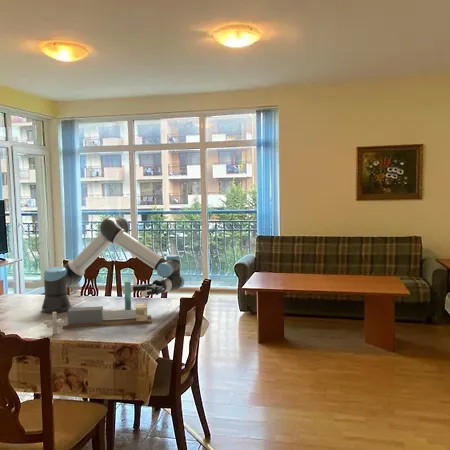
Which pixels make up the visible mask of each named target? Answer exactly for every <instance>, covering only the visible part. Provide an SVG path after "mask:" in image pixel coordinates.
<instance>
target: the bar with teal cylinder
mask: <svg viewBox="0 0 450 450" xmlns="http://www.w3.org/2000/svg"><path fill="white" fill-rule="evenodd" d="M131 286H132V284H131V281H124V288H125V294H124V308H123V307H122V308H121V307H120V308H103V309H102V319H117V318H136V307H132V292H131Z"/></svg>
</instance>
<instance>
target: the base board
mask: <svg viewBox="0 0 450 450" xmlns="http://www.w3.org/2000/svg"><path fill="white" fill-rule="evenodd" d="M65 322H66V324H65V325H62V329H76V328H79V327H80V328H93V327H94V328H95V327H113V326H115V327H116V326H130V325H131V326H132V325H133V326H134V325H135V326H136V325H151V324H152V314H147V321H136V318H117V319H103V321H102V322H99V323H80V324H68V318H67V319H66V320H65ZM80 328H79V329H80Z"/></svg>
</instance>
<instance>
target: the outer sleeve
mask: <svg viewBox="0 0 450 450" xmlns="http://www.w3.org/2000/svg"><path fill="white" fill-rule="evenodd" d="M102 309H104V306H84V307H83V306H80V307H71V308H70V309H69V310H68V311H67V319H68V324H80V323H99V322H102V321H103V319H102Z"/></svg>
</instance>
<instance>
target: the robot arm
mask: <svg viewBox="0 0 450 450" xmlns="http://www.w3.org/2000/svg"><path fill="white" fill-rule="evenodd" d="M129 232H130V223H129V221H128V220H127V219H126V218H125V217H123V216H114V217H106V218H104V219H103V220H102V221H101V222H100V225H99V234H98V235H96V237H95V238H94V239H93V240H92V241H91V242H90V243H89V244H88V245H87V246H86V247H85V248H84V249H83V250H82V251H81V252H80V253H79V254H78V255H77V256H76V257H75V258H74V259H73V260H72V259H71V260H69V261H67V262H66V264H64V265H63V266H54V267H48V268H47V269H45V270H44V273H43V274H44V275H43V282H44V283H43V284H44V299H43V302H42V306H41V312H42V313H45V314H52V312H57V313H58V314H59V313H64V312H68V310H69V309H70V308H72V307H71V306H72V305H71V302H70V299H69V296H68V288H70V287H72V286H75V285H77V284H78V283H80V282H81V280H82V278H83V276H85V272H86V269H87V268H88V267H89V266H91V264H93V262H95V260H96V259H98V258H99V256H101V254H102V253H103V252H104V251H105V250H106V249H108V248H109V246H110V245H112V244H113V245H118V246H119V247H121V248H122V249H124V250H125V251H127V252H128V253H129V254H131V255H133V256H134V257H136V258H137V259H138V260H140V261H142V262H143V263H144V264H146V265H148V266H149V267H150V268H152V269H153V270H155V271H156V273H157V274H158V276H159V277H161V278H159V279H154V280H153V281H152V283H149V284H148V283H143V284H133V285H132V284H131V293H133V292H140V291H141V293H140V297H141V298H144V297H147V296H152V295H156V296H157V295H160V294H162V293H165V294H166V293H167V292H171V291H175V290H179V289H181V288H182V287H184V285H185V278H184V277H183V275H181V258H180V255H178V254H168V255H166V259H165V258H164V257H162V256H161V255H159V254H158V253H156V252H155V251H154V250H152V249H150V248H149V247H148V246H146V245H145V244H143V243H141V242H140V241H139V240H137V239H136V238H134V237H133V236H131V235H129ZM122 295H125V287H124V288H122Z"/></svg>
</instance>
